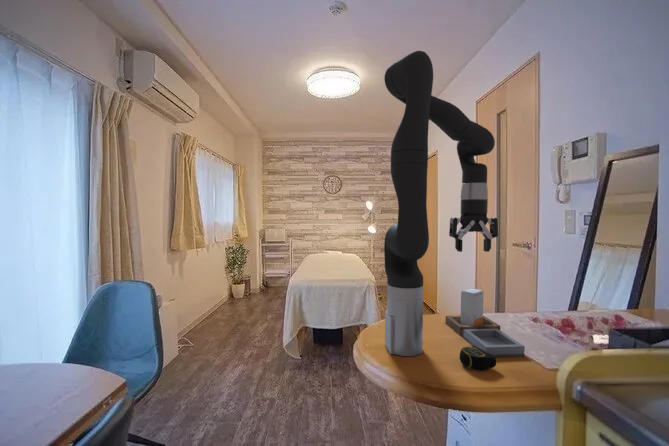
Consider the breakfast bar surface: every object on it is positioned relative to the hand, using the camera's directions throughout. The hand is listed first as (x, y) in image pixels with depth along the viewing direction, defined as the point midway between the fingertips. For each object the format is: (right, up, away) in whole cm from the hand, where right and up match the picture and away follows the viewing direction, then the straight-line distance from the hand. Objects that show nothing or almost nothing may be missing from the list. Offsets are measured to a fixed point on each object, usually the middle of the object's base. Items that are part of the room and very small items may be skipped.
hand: (473, 251), depth 98 cm
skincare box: (0, -24, +1) cm, 24 cm away
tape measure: (-9, -25, -22) cm, 35 cm away
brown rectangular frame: (0, -24, +1) cm, 24 cm away
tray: (0, -25, -12) cm, 27 cm away
